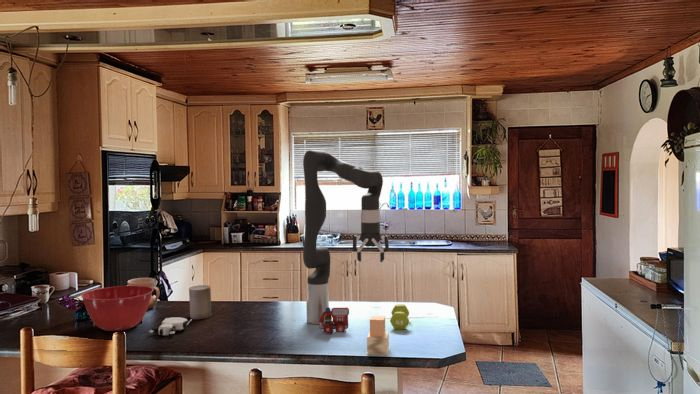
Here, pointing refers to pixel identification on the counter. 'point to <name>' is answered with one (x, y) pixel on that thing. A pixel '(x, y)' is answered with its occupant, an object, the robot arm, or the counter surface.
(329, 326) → the toy fire truck
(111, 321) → the mixing bowl
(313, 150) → the robot arm
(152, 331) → the robot toy
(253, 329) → the counter surface
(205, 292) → the pillar candle
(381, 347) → the maple base block
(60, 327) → the counter surface
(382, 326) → the terracotta block
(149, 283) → the ceramic jug
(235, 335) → the counter surface
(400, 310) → the dumbbell
